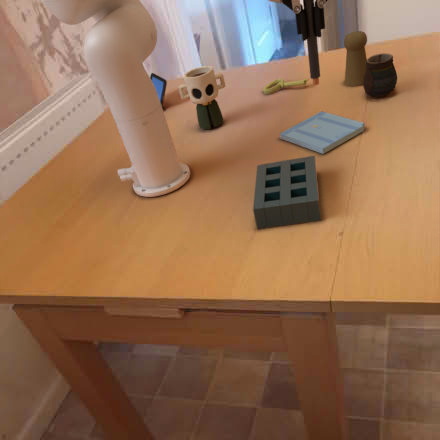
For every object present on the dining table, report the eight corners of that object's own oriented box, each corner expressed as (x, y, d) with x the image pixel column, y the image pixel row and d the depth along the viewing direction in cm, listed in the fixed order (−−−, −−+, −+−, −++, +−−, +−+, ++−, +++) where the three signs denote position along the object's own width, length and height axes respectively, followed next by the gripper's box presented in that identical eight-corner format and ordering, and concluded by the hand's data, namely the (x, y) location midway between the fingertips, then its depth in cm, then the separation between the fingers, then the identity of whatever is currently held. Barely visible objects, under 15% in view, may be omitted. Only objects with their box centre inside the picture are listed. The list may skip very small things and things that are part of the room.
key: (307, 89, 120) (306, 80, 118) (261, 95, 124) (259, 87, 123) (312, 78, 124) (311, 70, 123) (267, 84, 129) (266, 76, 128)
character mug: (191, 137, 115) (176, 83, 106) (190, 126, 120) (175, 73, 112) (235, 124, 114) (222, 69, 106) (231, 114, 120) (219, 60, 111)
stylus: (311, 86, 80) (303, -1, 71) (311, 83, 81) (302, -3, 72) (321, 84, 79) (313, -3, 71) (320, 81, 80) (313, -6, 72)
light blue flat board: (367, 129, 96) (367, 123, 96) (323, 154, 93) (322, 148, 92) (321, 116, 106) (321, 110, 105) (280, 138, 102) (279, 133, 102)
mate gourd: (392, 85, 109) (392, 39, 103) (401, 97, 104) (402, 48, 97) (360, 92, 111) (359, 47, 104) (367, 104, 105) (366, 57, 98)
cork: (373, 75, 116) (372, 27, 109) (364, 86, 113) (363, 36, 106) (349, 76, 119) (347, 29, 112) (340, 86, 116) (337, 38, 109)
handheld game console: (127, 110, 141) (118, 85, 136) (159, 97, 143) (151, 71, 138) (140, 120, 132) (131, 94, 127) (175, 106, 134) (167, 79, 129)
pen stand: (257, 229, 80) (252, 209, 77) (260, 183, 90) (257, 164, 88) (321, 220, 77) (318, 199, 75) (316, 174, 88) (314, 155, 85)
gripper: (239, -93, 62) (262, 54, 74) (362, -129, 59) (366, 31, 71) (241, -97, 68) (263, 41, 79) (354, -130, 64) (359, 19, 76)
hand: (311, 35), depth 75 cm, fingers closed on stylus, 1 cm apart
